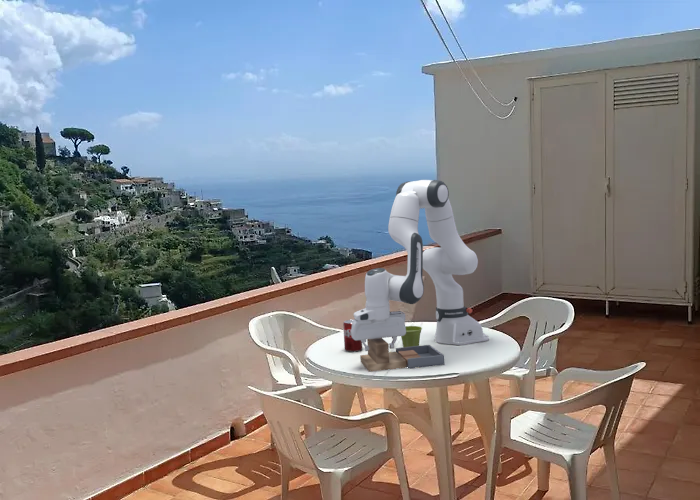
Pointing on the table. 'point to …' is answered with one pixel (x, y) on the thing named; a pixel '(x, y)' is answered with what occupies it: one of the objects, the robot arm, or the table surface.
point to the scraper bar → (378, 350)
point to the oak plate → (394, 363)
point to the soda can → (350, 338)
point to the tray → (424, 356)
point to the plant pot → (411, 336)
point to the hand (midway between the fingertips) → (379, 349)
